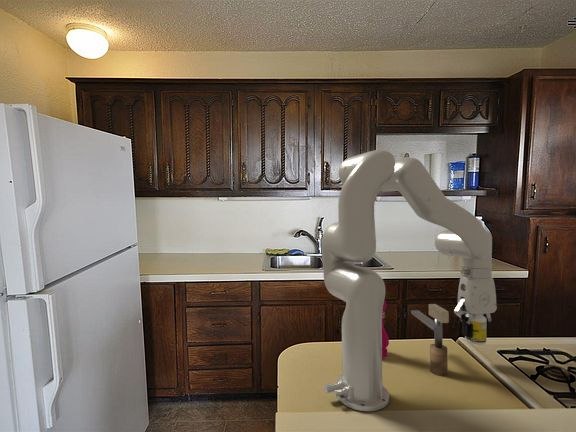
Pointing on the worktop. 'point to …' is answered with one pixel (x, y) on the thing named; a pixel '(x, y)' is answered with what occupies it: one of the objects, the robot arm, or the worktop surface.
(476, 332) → the supplement bottle
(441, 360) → the post
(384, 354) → the pepper mill
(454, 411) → the worktop surface
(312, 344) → the worktop surface
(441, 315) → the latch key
